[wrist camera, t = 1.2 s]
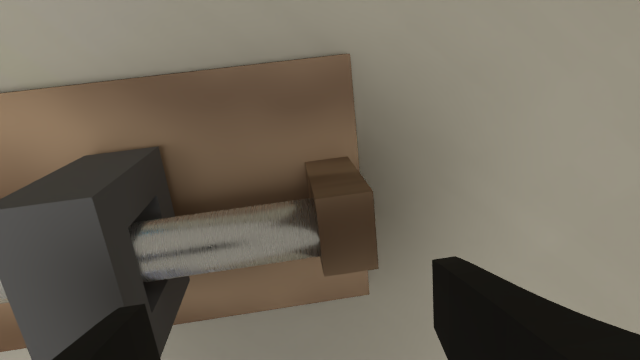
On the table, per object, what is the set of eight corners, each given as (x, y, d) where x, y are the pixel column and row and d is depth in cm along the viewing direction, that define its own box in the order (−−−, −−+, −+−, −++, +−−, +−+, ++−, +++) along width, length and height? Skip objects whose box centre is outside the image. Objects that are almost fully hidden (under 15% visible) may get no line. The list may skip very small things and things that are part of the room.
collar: (190, 280, 19) (148, 387, 13) (123, 289, 18) (49, 404, 12) (158, 146, 17) (91, 197, 11) (84, 155, 17) (-27, 213, 10)
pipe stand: (364, 282, 22) (398, 368, 16) (-164, 363, 20) (-355, 497, 14) (345, 54, 18) (380, 52, 12) (-300, 127, 17) (-641, 168, 10)
